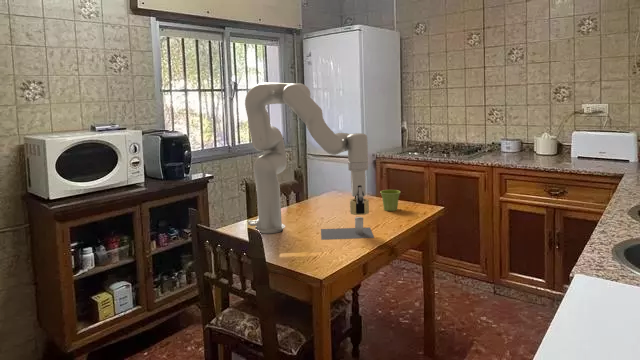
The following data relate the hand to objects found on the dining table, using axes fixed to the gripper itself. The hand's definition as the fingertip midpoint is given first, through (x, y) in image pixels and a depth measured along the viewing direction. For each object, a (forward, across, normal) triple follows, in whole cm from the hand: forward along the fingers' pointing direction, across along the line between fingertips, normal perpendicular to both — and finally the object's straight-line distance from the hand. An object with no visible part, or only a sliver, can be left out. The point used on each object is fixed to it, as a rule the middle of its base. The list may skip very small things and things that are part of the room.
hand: (359, 210), depth 197 cm
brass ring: (+1, 0, 0) cm, 1 cm away
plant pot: (+10, -39, +18) cm, 44 cm away
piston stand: (+10, 0, -5) cm, 11 cm away
